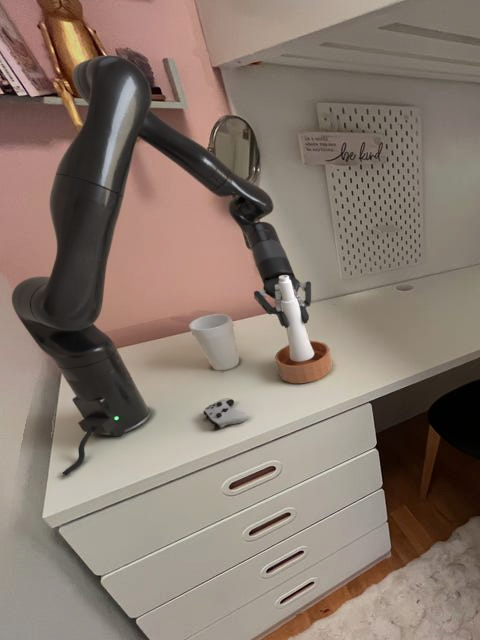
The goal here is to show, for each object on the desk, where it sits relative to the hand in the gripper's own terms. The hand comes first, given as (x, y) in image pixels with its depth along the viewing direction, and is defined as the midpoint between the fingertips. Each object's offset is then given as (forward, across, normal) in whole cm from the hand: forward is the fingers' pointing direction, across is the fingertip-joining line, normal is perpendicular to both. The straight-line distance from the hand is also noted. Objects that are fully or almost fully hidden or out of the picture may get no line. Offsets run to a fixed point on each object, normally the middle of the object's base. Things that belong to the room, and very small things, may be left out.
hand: (296, 324), depth 99 cm
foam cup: (-1, -17, +23) cm, 28 cm away
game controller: (+16, -21, +5) cm, 27 cm away
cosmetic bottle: (+6, 0, +9) cm, 11 cm away
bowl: (+9, 0, +12) cm, 15 cm away
